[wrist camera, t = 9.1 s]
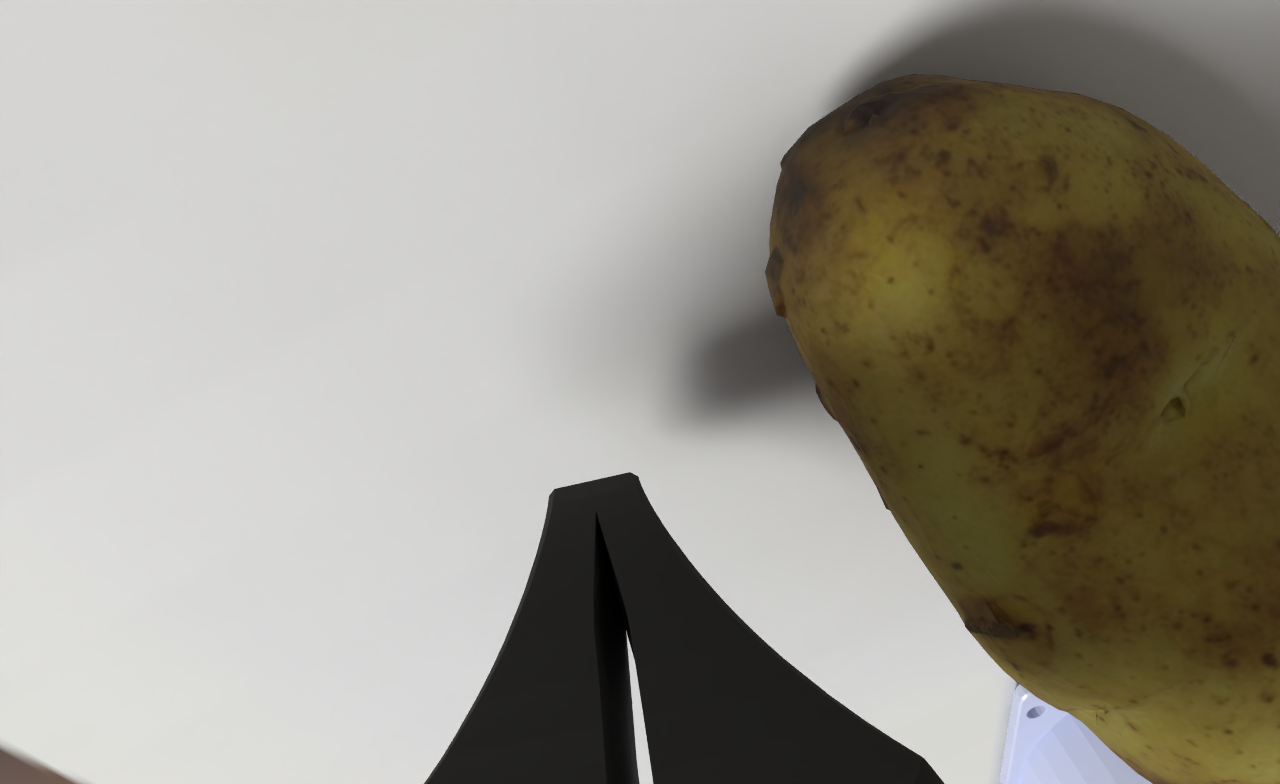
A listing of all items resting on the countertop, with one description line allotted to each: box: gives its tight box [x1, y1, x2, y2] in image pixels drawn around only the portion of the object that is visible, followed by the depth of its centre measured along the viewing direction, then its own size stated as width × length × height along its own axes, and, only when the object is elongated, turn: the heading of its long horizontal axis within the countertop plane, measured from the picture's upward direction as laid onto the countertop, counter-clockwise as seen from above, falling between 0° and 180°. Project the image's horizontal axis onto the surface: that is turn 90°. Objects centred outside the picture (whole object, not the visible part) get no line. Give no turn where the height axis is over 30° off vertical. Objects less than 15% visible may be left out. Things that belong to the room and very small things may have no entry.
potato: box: [765, 74, 1280, 784], centre depth 12 cm, size 8×13×8 cm, turn 26°
